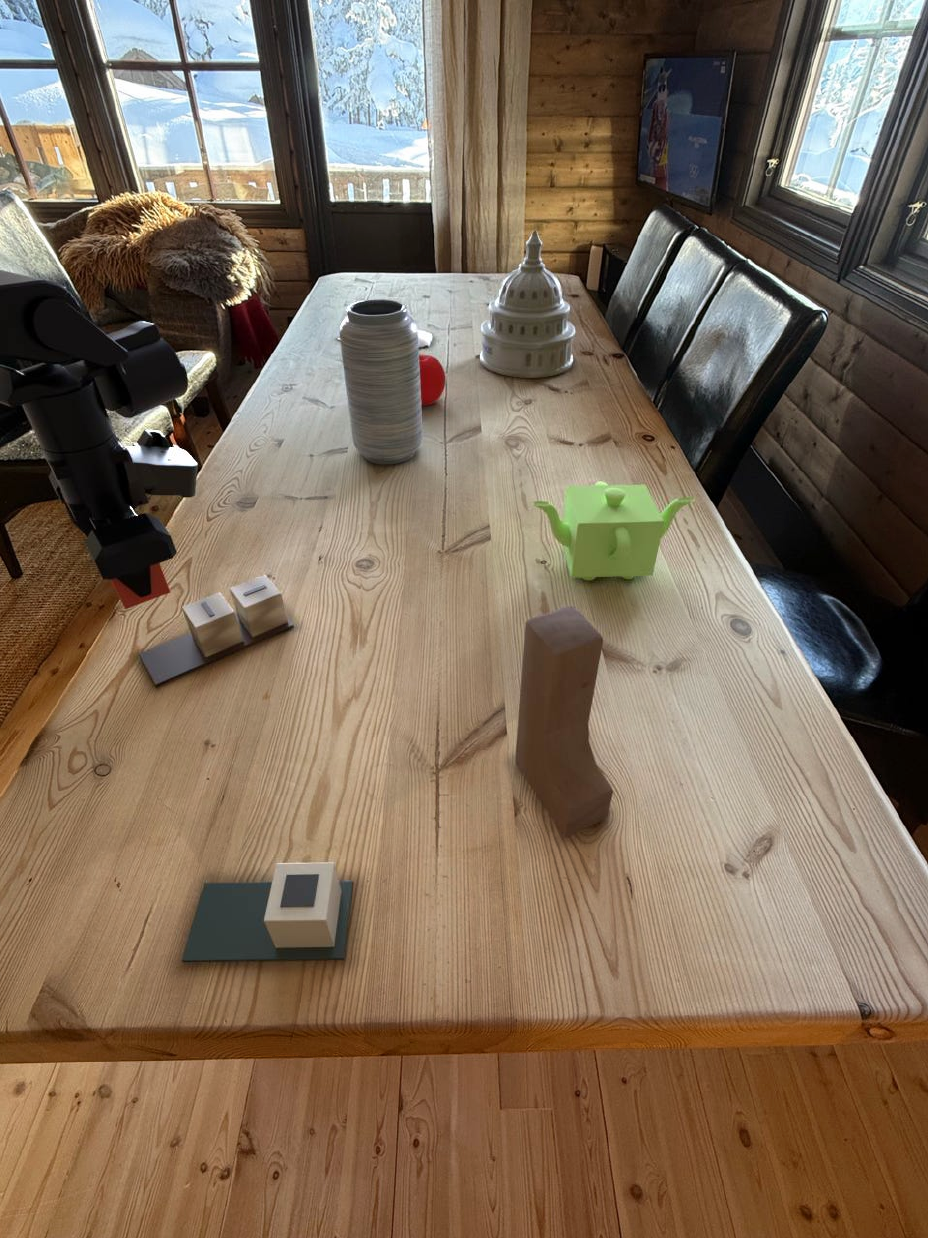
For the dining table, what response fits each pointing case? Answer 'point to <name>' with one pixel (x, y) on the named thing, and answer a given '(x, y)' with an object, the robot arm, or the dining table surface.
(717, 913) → the dining table surface
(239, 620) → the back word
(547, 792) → the wooden block
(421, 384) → the fruit
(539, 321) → the dome
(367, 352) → the vase
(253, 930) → the white cube on base
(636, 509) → the teapot
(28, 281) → the robot arm
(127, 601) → the white-striped red block
